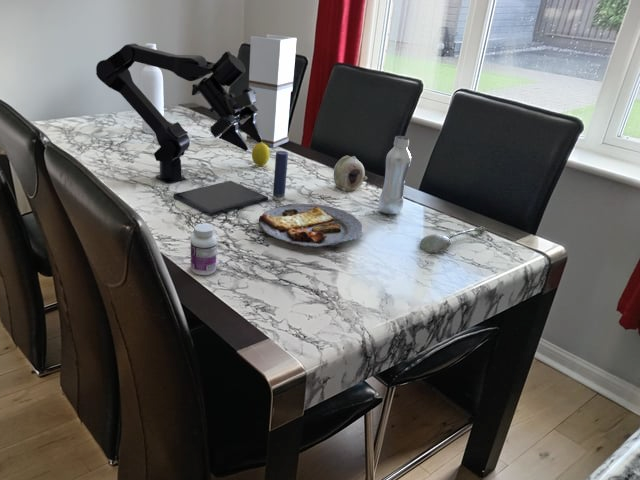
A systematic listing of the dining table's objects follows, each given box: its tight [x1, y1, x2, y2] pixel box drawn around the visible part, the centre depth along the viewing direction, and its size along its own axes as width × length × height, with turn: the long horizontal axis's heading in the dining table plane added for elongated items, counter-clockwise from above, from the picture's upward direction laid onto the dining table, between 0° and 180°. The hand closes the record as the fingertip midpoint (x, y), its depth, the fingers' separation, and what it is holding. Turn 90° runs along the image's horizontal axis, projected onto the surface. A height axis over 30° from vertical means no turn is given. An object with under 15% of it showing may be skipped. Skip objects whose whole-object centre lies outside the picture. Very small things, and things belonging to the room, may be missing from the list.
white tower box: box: [245, 34, 298, 149], centre depth 201 cm, size 11×11×35 cm
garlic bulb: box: [333, 155, 368, 192], centre depth 168 cm, size 9×8×10 cm
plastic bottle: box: [377, 135, 412, 215], centre depth 149 cm, size 6×7×20 cm
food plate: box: [257, 202, 363, 248], centre depth 139 cm, size 25×23×4 cm
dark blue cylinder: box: [272, 150, 289, 202], centre depth 155 cm, size 3×3×13 cm
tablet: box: [173, 180, 269, 217], centre depth 156 cm, size 16×20×1 cm
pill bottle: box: [190, 223, 218, 276], centre depth 117 cm, size 5×5×10 cm
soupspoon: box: [419, 225, 486, 254], centre depth 139 cm, size 22×3×7 cm
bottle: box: [140, 42, 165, 135], centre depth 205 cm, size 8×8×30 cm
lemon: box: [251, 142, 271, 168], centre depth 180 cm, size 6×6×8 cm
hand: (254, 145), depth 154 cm, fingers open, 9 cm apart
